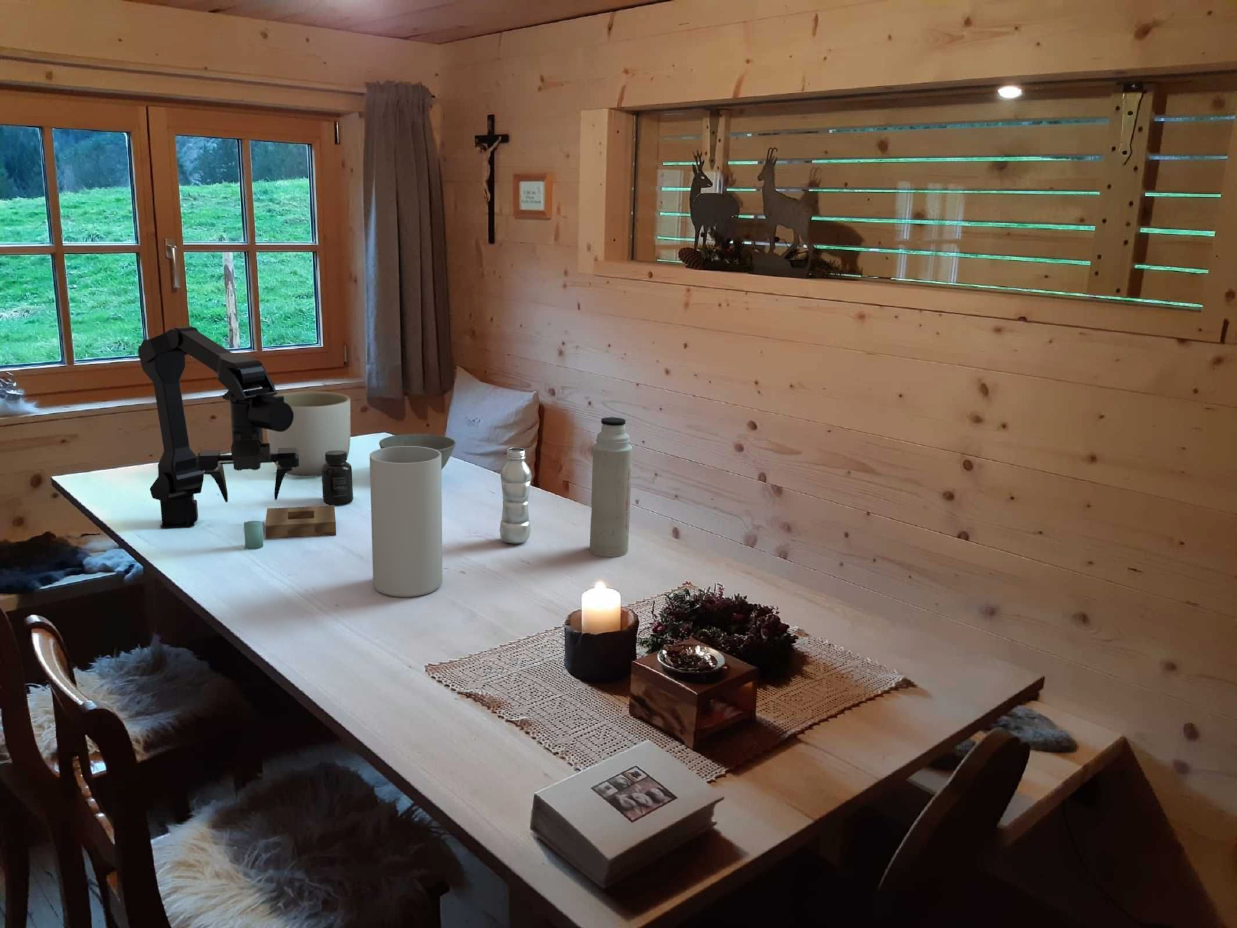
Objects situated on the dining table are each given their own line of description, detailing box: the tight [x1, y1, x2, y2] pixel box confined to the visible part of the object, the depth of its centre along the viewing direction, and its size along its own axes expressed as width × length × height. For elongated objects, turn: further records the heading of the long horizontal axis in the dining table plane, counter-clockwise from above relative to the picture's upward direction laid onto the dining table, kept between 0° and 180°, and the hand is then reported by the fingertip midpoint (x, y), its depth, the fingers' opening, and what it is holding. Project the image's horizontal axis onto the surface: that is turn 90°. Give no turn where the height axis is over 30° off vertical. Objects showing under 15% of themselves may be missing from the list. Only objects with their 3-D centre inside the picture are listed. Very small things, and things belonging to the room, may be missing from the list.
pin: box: [243, 520, 264, 551], centre depth 195 cm, size 3×3×5 cm
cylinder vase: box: [369, 446, 443, 598], centre depth 176 cm, size 12×12×25 cm
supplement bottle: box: [321, 450, 354, 507], centre depth 225 cm, size 7×7×12 cm
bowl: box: [378, 433, 457, 470], centre depth 246 cm, size 19×19×10 cm
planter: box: [266, 390, 351, 477], centre depth 249 cm, size 21×21×19 cm
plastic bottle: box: [499, 447, 532, 544], centre depth 202 cm, size 6×7×20 cm
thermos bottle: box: [589, 416, 633, 558], centre depth 198 cm, size 8×8×28 cm
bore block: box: [264, 504, 337, 540], centre depth 208 cm, size 14×12×3 cm
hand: (251, 500), depth 194 cm, fingers open, 9 cm apart
